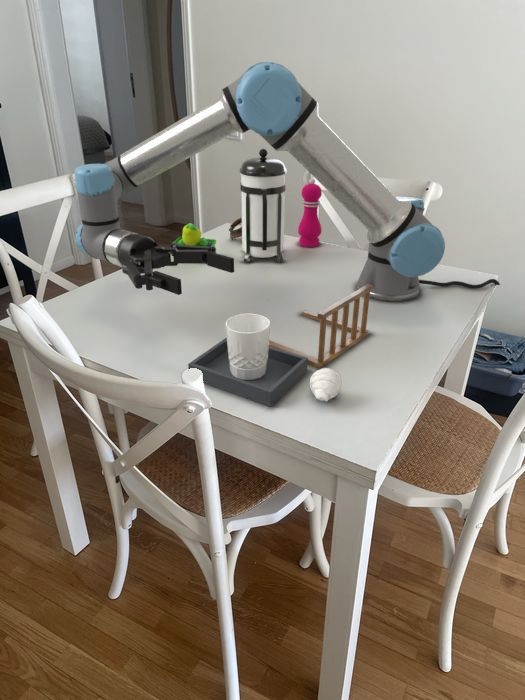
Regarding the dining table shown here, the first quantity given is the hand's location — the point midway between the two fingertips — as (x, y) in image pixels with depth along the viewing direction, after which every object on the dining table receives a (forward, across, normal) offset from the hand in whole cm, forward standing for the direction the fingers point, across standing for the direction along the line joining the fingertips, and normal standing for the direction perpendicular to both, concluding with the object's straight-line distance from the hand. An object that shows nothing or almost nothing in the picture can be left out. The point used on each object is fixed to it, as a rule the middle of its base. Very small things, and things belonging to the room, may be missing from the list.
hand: (207, 276), depth 97 cm
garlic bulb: (+25, -2, -18) cm, 31 cm away
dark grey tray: (+10, 0, -17) cm, 20 cm away
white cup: (+10, 0, -17) cm, 19 cm away
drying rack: (+10, -19, -17) cm, 28 cm away
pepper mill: (-26, -70, -18) cm, 77 cm away
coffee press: (-29, -52, -18) cm, 62 cm away
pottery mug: (-44, -62, -17) cm, 78 cm away
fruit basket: (-44, -38, -17) cm, 60 cm away
